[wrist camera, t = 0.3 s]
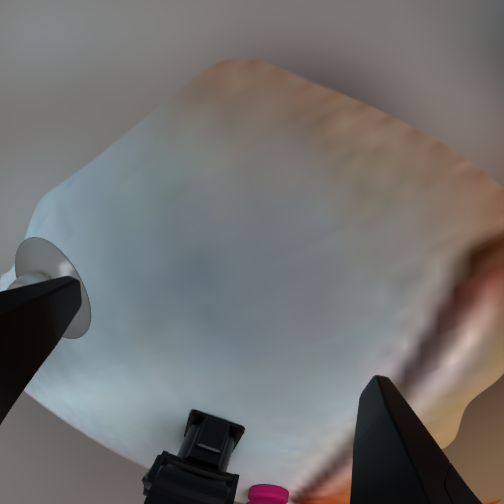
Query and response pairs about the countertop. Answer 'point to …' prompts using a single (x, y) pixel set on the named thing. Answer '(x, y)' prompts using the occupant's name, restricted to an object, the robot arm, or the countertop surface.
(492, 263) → the countertop surface
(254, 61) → the countertop surface
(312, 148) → the countertop surface
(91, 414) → the countertop surface
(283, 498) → the pepper mill
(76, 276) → the round gray disc
